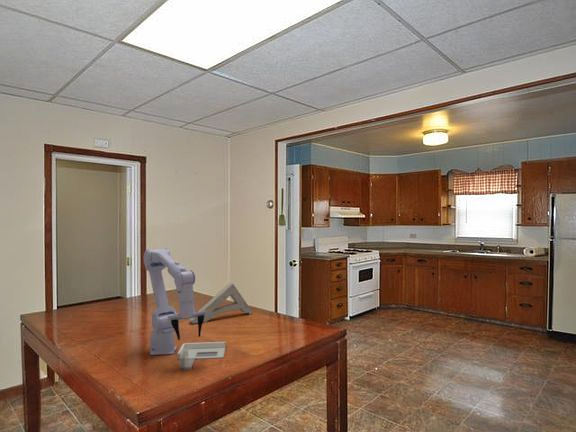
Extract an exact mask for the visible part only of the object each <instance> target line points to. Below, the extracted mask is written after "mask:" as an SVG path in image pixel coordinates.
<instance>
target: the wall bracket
mask: <svg viewBox="0 0 576 432" xmlns="http://www.w3.org/2000/svg"><path fill="white" fill-rule="evenodd" d="M229 297H230V298H231V300H232V301H233V302H232V303H229V304H225V305H222V306H220V305H221V304H222V303H224V302H225V301H226V300H227V299H228V298H229ZM199 311H207V316H204V320H203V324H204V323H207V322H208V321H210V320H211V319H212V318H214V317H216V316H218V315H220V314H223V313H227V312H233V311H234V312H235V311H241V312H243V314H244V313H245V314H247V315H252V314H253V310H252V309H251V308H250V305H248V303H247V302H246V300H245V299H244V297H243V295H242V294H241V293H240V292H239V291H238V289H237V287H236V286H235V284H234V283H231V282H229V283H228V284H227V285H226V286H224V287H223V288H222V289H221V290H220V291H219V292H218V293H217V294H216V295H214V296H213V297H212V298H211V299H210V300H208V302H206V304H205V305H203V306H202V307H201V308H200V309H199V310H198V311H197V312H199ZM188 321H189V322H190V323H191V324H192V325H195V324H198V317H196V318H189V319H188Z"/></svg>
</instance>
